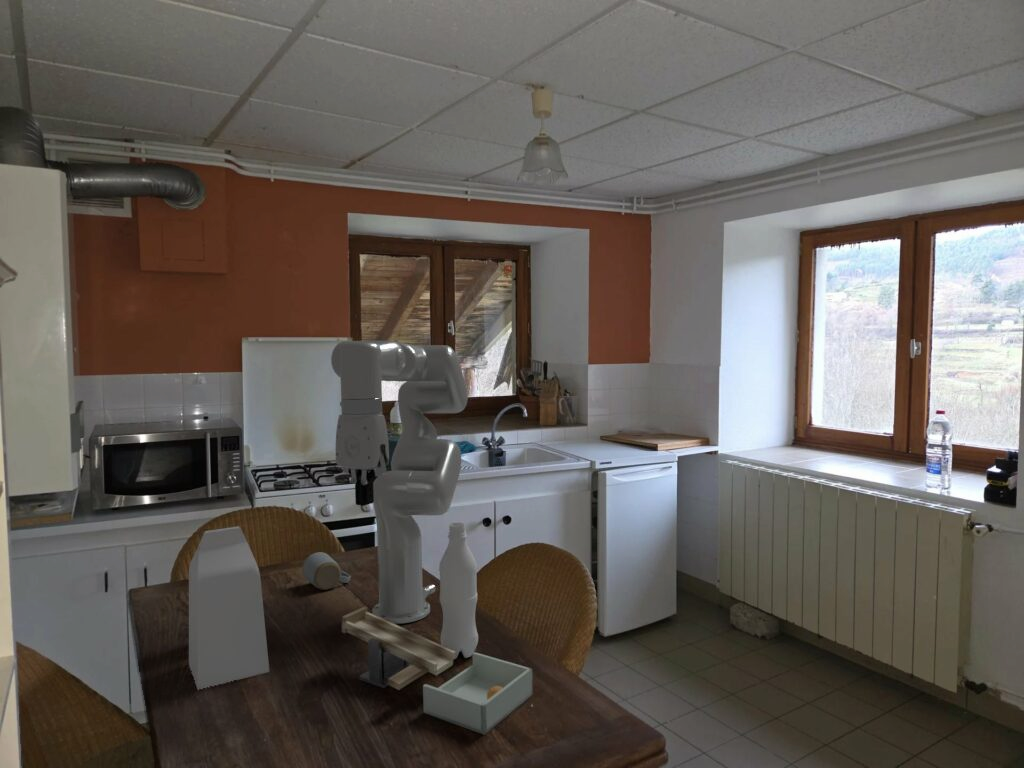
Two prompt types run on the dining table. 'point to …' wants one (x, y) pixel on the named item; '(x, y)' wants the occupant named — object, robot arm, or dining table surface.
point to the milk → (225, 611)
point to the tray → (480, 694)
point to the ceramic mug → (323, 571)
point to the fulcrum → (382, 665)
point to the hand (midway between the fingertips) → (364, 503)
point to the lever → (399, 646)
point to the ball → (493, 691)
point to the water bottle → (458, 594)
